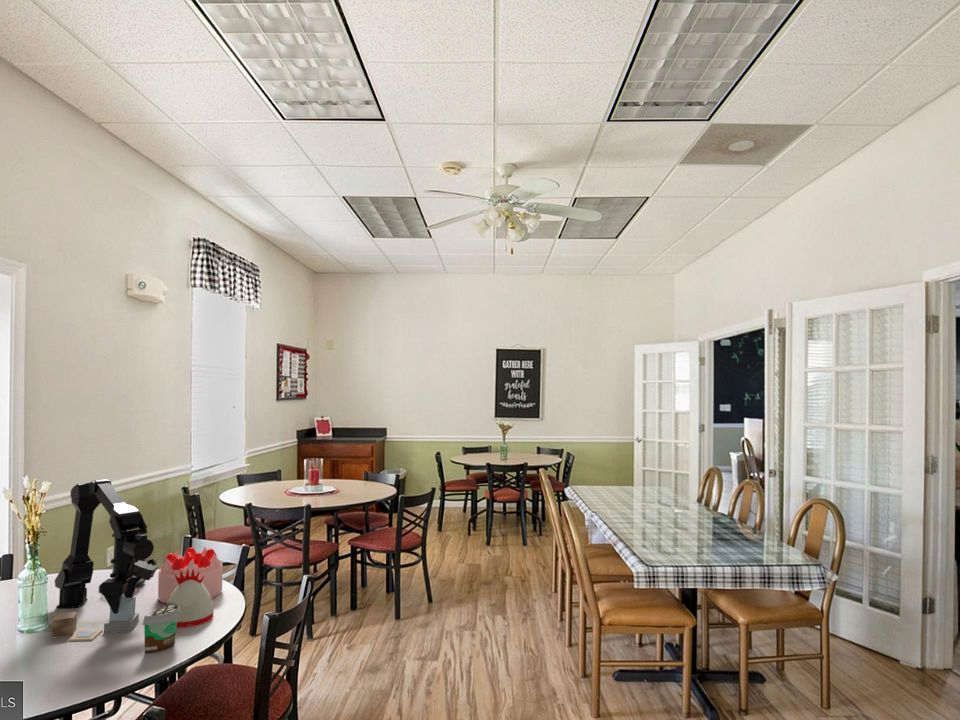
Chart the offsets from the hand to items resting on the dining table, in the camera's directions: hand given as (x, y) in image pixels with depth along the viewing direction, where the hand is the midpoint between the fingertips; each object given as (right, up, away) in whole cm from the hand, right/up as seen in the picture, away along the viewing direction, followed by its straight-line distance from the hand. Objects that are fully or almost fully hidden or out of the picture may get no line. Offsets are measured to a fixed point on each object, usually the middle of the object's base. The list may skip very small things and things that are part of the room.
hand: (122, 607), depth 180 cm
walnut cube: (-14, -5, -5) cm, 15 cm away
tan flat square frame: (-6, -5, -7) cm, 11 cm away
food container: (+19, -6, -12) cm, 23 cm away
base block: (0, -6, 0) cm, 6 cm away
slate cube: (0, -3, 0) cm, 3 cm away
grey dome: (+16, -7, +7) cm, 19 cm away
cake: (+7, -7, +28) cm, 30 cm away
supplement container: (-19, -7, +36) cm, 42 cm away
